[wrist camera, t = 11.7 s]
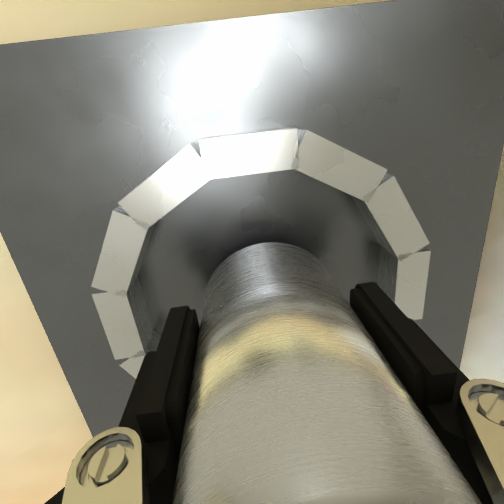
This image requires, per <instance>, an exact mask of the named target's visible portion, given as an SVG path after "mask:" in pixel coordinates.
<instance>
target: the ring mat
mask: <svg viewBox="0 0 504 504" xmlns="http://www.w3.org/2000/svg"><path fill="white" fill-rule="evenodd" d="M503 144H504V0H393V1H384V2H375V3H366V4H357V5H348V6H339V7H330V8H322V9H313V10H304V11H295V12H286V13H277V14H268V15H259V16H250V17H241V18H233V19H224V20H215V21H206V22H197V23H188V24H179V25H170V26H161V27H152V28H143V29H135V30H126V31H117V32H108V33H99V34H90V35H81V36H72V37H63V38H54V39H46V40H37V41H28V42H19V43H10V44H1V45H0V232H1V234H2V237H3V239H4V241H5V243H6V245H7V248H8V250H9V252H10V254H11V257H12V259H13V261H14V263H15V265H16V268H17V270H18V272H19V274H20V276H21V279H22V281H23V283H24V285H25V288H26V290H27V292H28V294H29V296H30V299H31V301H32V303H33V305H34V307H35V310H36V312H37V314H38V316H39V319H40V321H41V323H42V325H43V327H44V330H45V332H46V334H47V336H48V338H49V341H50V343H51V345H52V347H53V350H54V352H55V354H56V356H57V358H58V361H59V363H60V365H61V367H62V370H63V372H64V374H65V376H66V378H67V381H68V383H69V385H70V387H71V389H72V392H73V394H74V396H75V398H76V401H77V403H78V405H79V407H80V409H81V412H82V414H83V416H84V418H85V420H86V423H87V425H88V427H89V429H90V432H91V434H92V436H93V438H94V437H95V436H96V435H98V434H100V433H102V432H104V431H106V430H108V429H112V428H116V427H118V426H119V423H120V421H121V418H122V415H123V413H124V410H125V407H126V405H127V402H128V399H129V397H130V394H131V391H132V389H133V386H134V383H135V381H136V378H137V375H138V373H139V370H140V367H141V365H142V362H143V359H144V357H145V355H146V353H147V352H151V351H156V350H157V347H158V344H159V341H160V338H161V335H162V332H163V329H164V326H165V323H166V320H167V317H168V314H169V311H170V308H172V307H180V306H189V308H190V310H192V309H195V310H196V313H197V317H198V322H199V327H200V322H201V316H202V309H203V303H204V297H205V291H206V287H207V284H208V282H209V280H210V278H211V276H212V274H213V273H214V271H215V270H216V268H217V267H218V266H219V265H220V264H221V263H222V262H223V261H224V260H225V259H227V258H228V257H229V256H230V255H232V254H234V253H235V252H237V251H239V250H241V249H243V248H245V247H248V246H251V245H255V244H260V243H268V242H277V243H286V244H291V245H294V246H297V247H300V248H302V249H304V250H306V251H308V252H309V253H311V254H312V255H314V256H315V257H316V258H317V259H318V260H319V261H320V262H321V263H322V264H323V265H324V267H325V268H326V270H327V271H328V273H329V274H330V276H331V277H332V279H333V280H334V282H335V283H336V285H337V286H338V288H339V289H340V291H341V292H342V294H343V295H344V297H345V298H346V300H347V301H348V303H349V304H350V290H351V289H355V286H356V284H359V283H367V282H375V283H376V284H377V285H378V286H379V287H380V288H381V289H382V290H383V291H384V292H385V293H386V294H387V296H388V297H389V298H390V299H391V300H392V301H393V302H394V303H395V304H396V305H397V306H398V308H399V309H400V310H401V311H402V312H403V313H404V314H405V315H406V316H407V317H408V318H410V319H412V320H413V321H414V322H415V323H416V324H417V325H418V326H419V327H420V328H421V329H422V330H423V331H424V332H425V333H426V334H427V335H428V336H429V338H430V339H431V340H432V341H433V342H434V343H435V344H436V345H437V346H438V347H439V348H440V349H441V350H442V351H443V353H444V354H445V355H446V356H447V357H448V358H449V359H450V360H451V361H452V362H453V363H454V364H455V365H456V366H457V368H458V369H459V368H460V363H461V358H462V353H463V348H464V343H465V337H466V332H467V327H468V322H469V317H470V312H471V307H472V302H473V297H474V292H475V287H476V281H477V276H478V271H479V266H480V261H481V256H482V251H483V246H484V241H485V236H486V231H487V225H488V220H489V215H490V210H491V205H492V200H493V195H494V190H495V185H496V180H497V175H498V169H499V164H500V159H501V154H502V149H503Z"/></svg>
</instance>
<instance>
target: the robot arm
mask: <svg viewBox="0 0 504 504" xmlns="http://www.w3.org/2000/svg"><path fill="white" fill-rule="evenodd" d="M350 306H351V307H352V309H353V310H354V312H355V313H356V315H357V316H358V318H359V319H360V321H361V322H362V324H363V325H364V327H365V328H366V330H367V331H368V333H369V334H370V336H371V337H372V339H373V340H374V342H375V343H376V345H377V346H378V348H379V349H380V351H381V352H382V354H383V355H384V357H385V358H386V360H387V361H388V363H389V364H390V366H391V367H392V369H393V370H394V372H395V373H396V375H397V376H398V378H399V379H400V381H401V382H402V384H403V385H404V387H405V388H406V390H407V391H408V393H409V394H410V396H411V397H412V399H413V400H414V402H415V403H416V405H417V406H418V408H419V409H420V411H421V412H422V414H423V415H424V417H425V418H426V420H427V422H428V423H429V425H430V426H431V428H432V429H433V431H434V432H435V434H436V435H437V437H438V438H439V440H440V441H441V443H442V444H443V446H444V447H445V449H446V450H447V452H448V453H449V455H450V456H451V458H452V459H453V461H454V462H455V464H456V465H457V467H458V468H459V470H460V471H461V473H462V474H463V476H464V477H465V479H466V480H467V482H468V483H469V485H470V486H471V488H472V489H473V491H474V492H475V494H476V495H477V497H478V498H479V500H480V501H481V503H482V504H504V383H501V382H498V381H495V380H489V379H473V380H469V379H468V378H467V377H466V376H465V375H464V374H463V373H462V372H461V371H460V370H459V369H458V368H457V366H456V365H455V364H454V363H453V362H452V361H451V360H450V359H449V358H448V357H447V356H446V355H445V354H444V353H443V351H442V350H441V349H440V348H439V347H438V346H437V345H436V344H435V343H434V342H433V341H432V340H431V339H430V338H429V336H428V335H427V334H426V333H425V332H424V331H423V330H422V329H421V328H420V327H419V326H418V325H417V324H416V323H415V322H414V321H413V320H412V319H410V318H408V317H407V316H406V315H405V314H404V313H403V312H402V311H401V310H400V309H399V308H398V306H397V305H396V304H395V303H394V302H393V301H392V300H391V299H390V298H389V297H388V296H387V294H386V293H385V292H384V291H383V290H382V289H381V288H380V287H379V286H378V285H377V284H376V283H375V282H367V283H359V284H356V286H355V289H351V290H350ZM199 329H200V327H199V322H198V317H197V313H196V310H195V309H192V310H190V308H189V306H180V307H172V308H170V311H169V314H168V317H167V320H166V323H165V326H164V329H163V332H162V335H161V338H160V341H159V344H158V347H157V350H156V351H151V352H147V353H146V355H145V357H144V359H143V362H142V365H141V367H140V370H139V373H138V375H137V378H136V381H135V383H134V386H133V389H132V391H131V394H130V397H129V399H128V402H127V405H126V407H125V410H124V413H123V415H122V418H121V421H120V423H119V426H118V427H116V428H112V429H108V430H106V431H104V432H102V433H100V434H98V435H96V436H95V437H94V438H92V439H91V440H90V441H88V442H87V443H86V444H85V445H84V446H83V447H82V448H81V449H80V450H79V452H78V453H77V455H76V456H75V458H74V459H73V461H72V463H71V466H70V468H69V471H68V475H67V480H66V485H65V487H64V488H63V489H62V490H61V491H59V492H58V493H57V494H56V495H54V496H53V497H52V498H51V499H49V500H48V501H47V502H46V503H45V504H172V502H173V496H174V489H175V483H176V477H177V470H178V464H179V457H180V451H181V444H182V438H183V432H184V425H185V419H186V412H187V406H188V399H189V393H190V387H191V380H192V374H193V367H194V361H195V354H196V348H197V342H198V335H199Z"/></svg>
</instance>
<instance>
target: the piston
mask: <svg viewBox="0 0 504 504" xmlns="http://www.w3.org/2000/svg"><path fill="white" fill-rule="evenodd" d="M172 504H482V503H481V501H480V500H479V498H478V497H477V495H476V494H475V492H474V491H473V489H472V488H471V486H470V485H469V483H468V482H467V480H466V479H465V477H464V476H463V474H462V473H461V471H460V470H459V468H458V467H457V465H456V464H455V462H454V461H453V459H452V458H451V456H450V455H449V453H448V452H447V450H446V449H445V447H444V446H443V444H442V443H441V441H440V440H439V438H438V437H437V435H436V434H435V432H434V431H433V429H432V428H431V426H430V425H429V423H428V422H427V420H426V418H425V417H424V415H423V414H422V412H421V411H420V409H419V408H418V406H417V405H416V403H415V402H414V400H413V399H412V397H411V396H410V394H409V393H408V391H407V390H406V388H405V387H404V385H403V384H402V382H401V381H400V379H399V378H398V376H397V375H396V373H395V372H394V370H393V369H392V367H391V366H390V364H389V363H388V361H387V360H386V358H385V357H384V355H383V354H382V352H381V351H380V349H379V348H378V346H377V345H376V343H375V342H374V340H373V339H372V337H371V336H370V334H369V333H368V331H367V330H366V328H365V327H364V325H363V324H362V322H361V321H360V319H359V318H358V316H357V315H356V313H355V312H354V310H353V309H352V307H351V306H350V304H349V303H348V301H347V300H346V298H345V297H344V295H343V294H342V292H341V291H340V289H339V288H338V286H337V285H336V283H335V282H334V280H333V279H332V277H331V276H330V274H329V273H328V271H327V270H326V268H325V267H324V265H323V264H322V263H321V262H320V261H319V260H318V259H317V258H316V257H315V256H314V255H312V254H311V253H309V252H308V251H306V250H304V249H302V248H300V247H297V246H294V245H291V244H286V243H277V242H268V243H260V244H255V245H251V246H248V247H245V248H243V249H241V250H239V251H237V252H235V253H234V254H232V255H230V256H229V257H228V258H227V259H225V260H224V261H223V262H222V263H221V264H220V265H219V266H218V267H217V268H216V270H215V271H214V273H213V274H212V276H211V278H210V280H209V282H208V284H207V287H206V291H205V297H204V303H203V309H202V316H201V322H200V329H199V335H198V342H197V348H196V354H195V361H194V367H193V374H192V380H191V387H190V393H189V399H188V406H187V412H186V419H185V425H184V432H183V438H182V444H181V451H180V457H179V464H178V470H177V477H176V483H175V489H174V496H173V502H172Z"/></svg>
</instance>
